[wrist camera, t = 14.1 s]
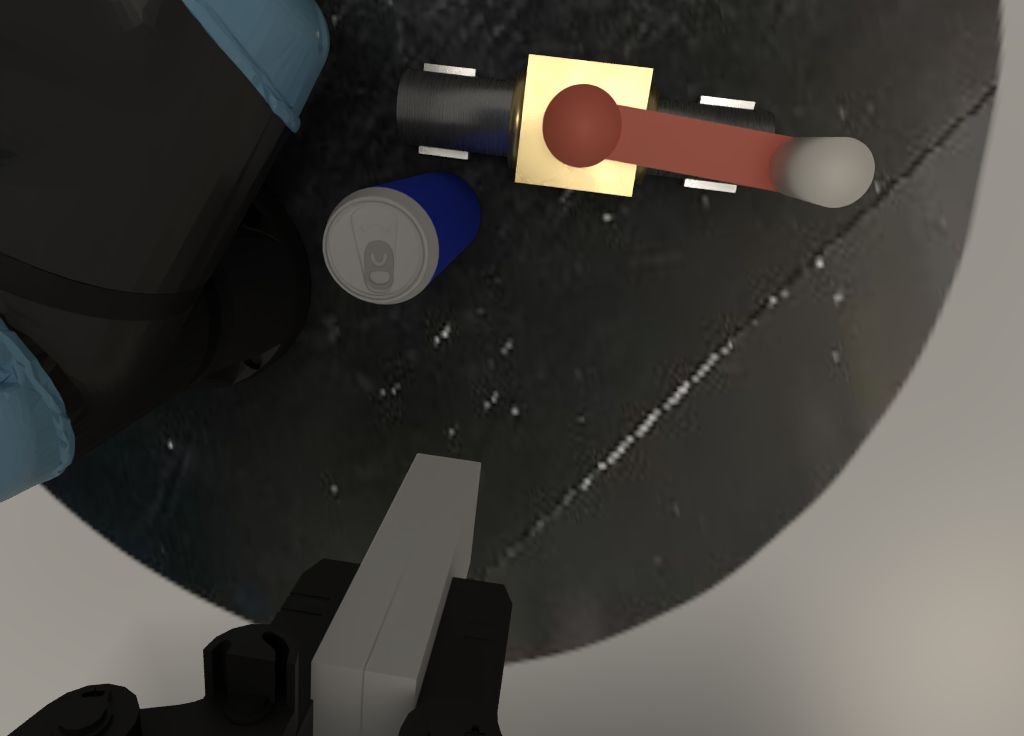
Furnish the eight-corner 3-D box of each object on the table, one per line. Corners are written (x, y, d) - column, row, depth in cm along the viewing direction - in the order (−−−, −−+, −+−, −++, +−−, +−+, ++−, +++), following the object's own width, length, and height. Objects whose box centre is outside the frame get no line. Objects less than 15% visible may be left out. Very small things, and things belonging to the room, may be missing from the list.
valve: (414, 160, 42) (373, 166, 34) (421, 55, 40) (379, 33, 32) (737, 200, 41) (777, 217, 33) (760, 95, 39) (809, 83, 31)
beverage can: (400, 171, 42) (310, 188, 28) (481, 170, 42) (431, 188, 28) (404, 253, 44) (322, 309, 30) (483, 253, 43) (437, 310, 29)
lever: (537, 158, 32) (528, 163, 27) (551, 78, 31) (545, 66, 26) (807, 210, 32) (856, 226, 26) (832, 131, 31) (889, 130, 25)
